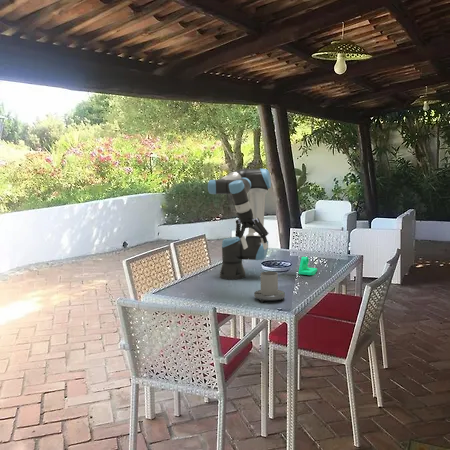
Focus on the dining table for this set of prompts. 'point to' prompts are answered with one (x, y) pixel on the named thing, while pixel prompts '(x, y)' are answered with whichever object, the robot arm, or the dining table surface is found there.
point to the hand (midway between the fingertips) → (255, 248)
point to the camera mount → (306, 267)
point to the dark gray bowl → (267, 297)
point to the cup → (269, 283)
